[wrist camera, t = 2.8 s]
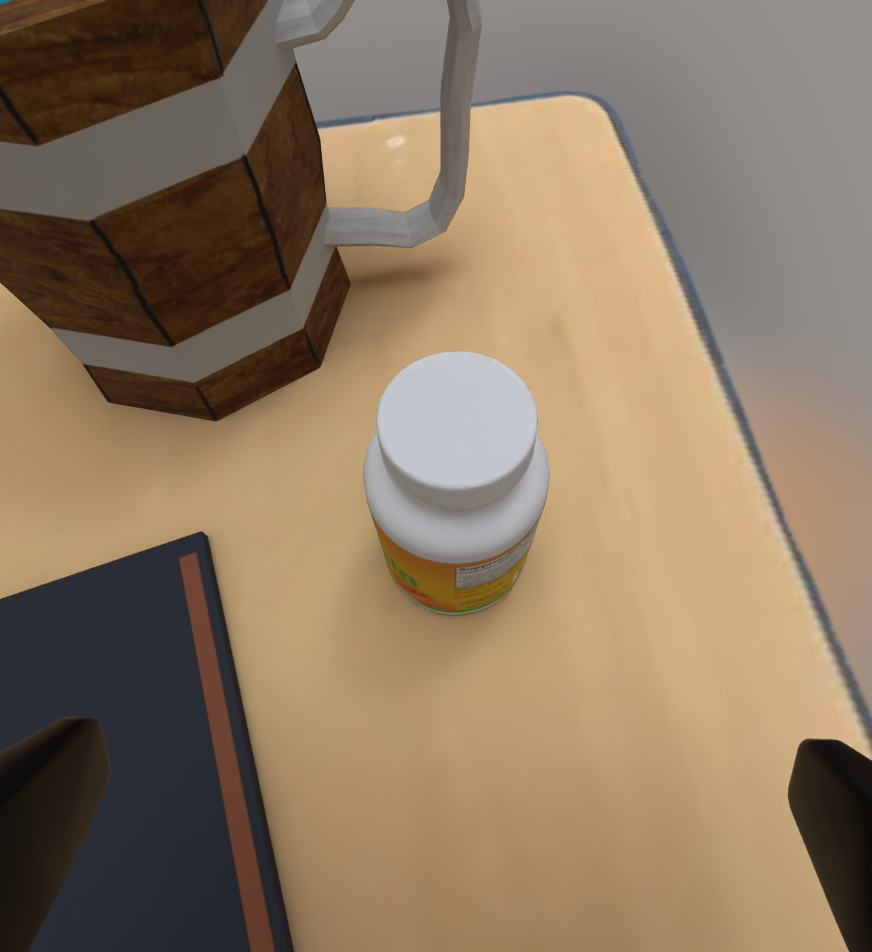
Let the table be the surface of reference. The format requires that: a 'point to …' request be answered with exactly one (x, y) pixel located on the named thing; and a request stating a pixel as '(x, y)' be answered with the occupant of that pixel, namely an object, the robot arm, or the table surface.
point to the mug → (190, 190)
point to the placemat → (149, 756)
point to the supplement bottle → (456, 480)
